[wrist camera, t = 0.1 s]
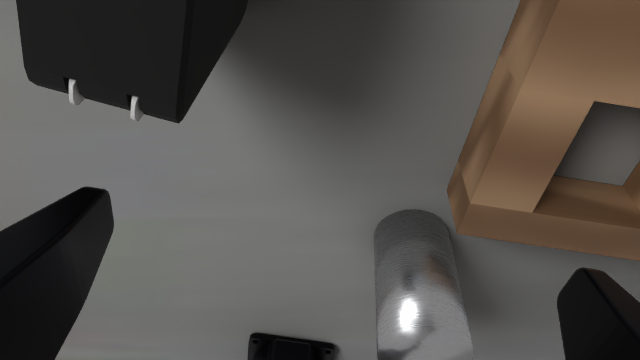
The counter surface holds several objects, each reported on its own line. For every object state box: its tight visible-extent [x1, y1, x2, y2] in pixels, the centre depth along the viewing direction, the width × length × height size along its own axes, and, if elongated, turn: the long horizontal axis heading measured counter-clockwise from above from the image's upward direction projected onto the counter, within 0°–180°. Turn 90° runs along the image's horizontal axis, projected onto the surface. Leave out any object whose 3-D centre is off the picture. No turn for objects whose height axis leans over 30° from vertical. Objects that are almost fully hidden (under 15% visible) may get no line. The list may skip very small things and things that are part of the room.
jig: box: [447, 0, 640, 261], centre depth 21 cm, size 14×12×4 cm
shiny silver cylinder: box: [374, 210, 474, 360], centre depth 26 cm, size 4×4×8 cm
